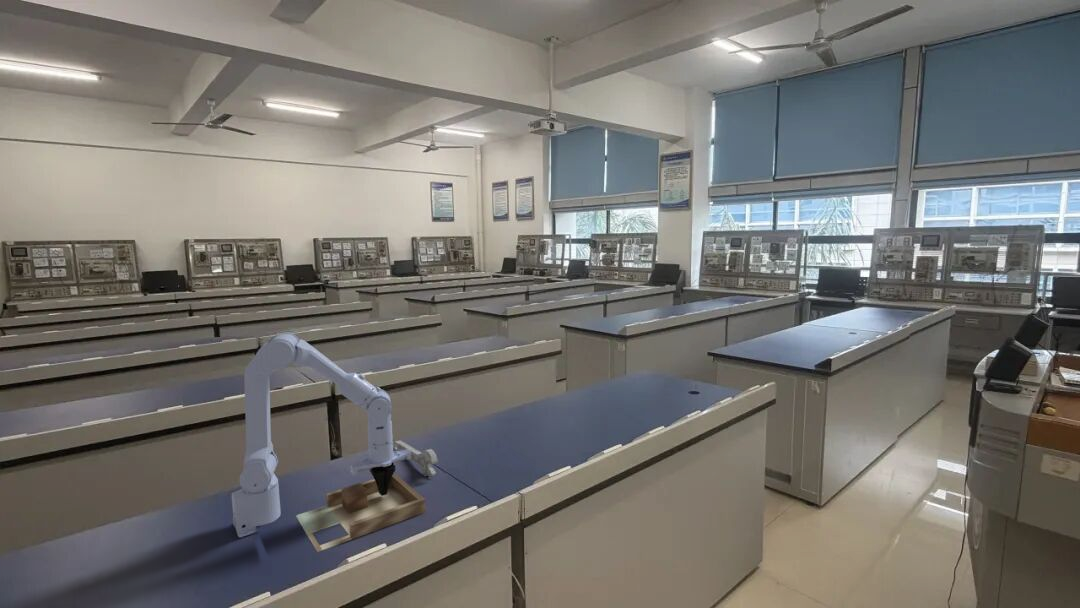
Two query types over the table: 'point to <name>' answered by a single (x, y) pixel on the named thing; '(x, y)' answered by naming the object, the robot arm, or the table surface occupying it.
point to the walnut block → (354, 498)
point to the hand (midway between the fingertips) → (383, 493)
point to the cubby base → (364, 512)
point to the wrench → (420, 457)
